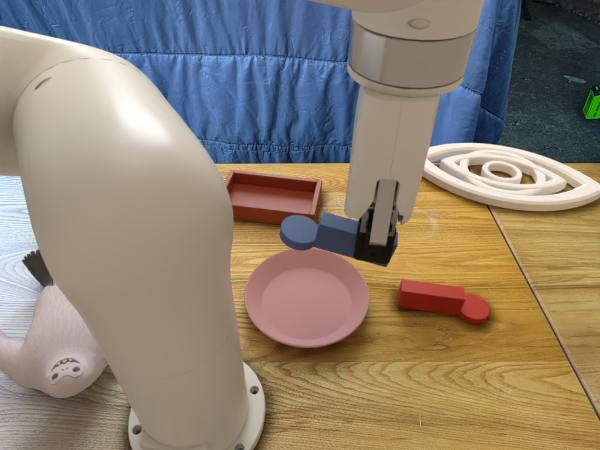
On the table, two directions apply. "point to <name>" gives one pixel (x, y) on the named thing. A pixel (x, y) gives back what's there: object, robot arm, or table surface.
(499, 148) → the decorative sculpture
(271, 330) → the plate
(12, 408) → the table surface
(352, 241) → the blue spoon
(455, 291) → the red spoon
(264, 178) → the tray
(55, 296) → the yeti figurine
